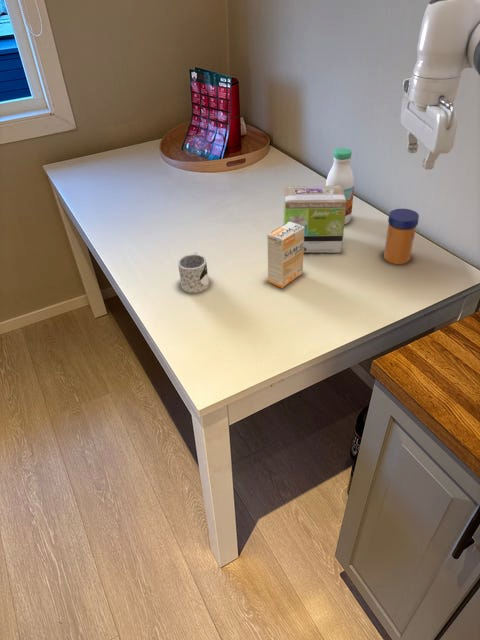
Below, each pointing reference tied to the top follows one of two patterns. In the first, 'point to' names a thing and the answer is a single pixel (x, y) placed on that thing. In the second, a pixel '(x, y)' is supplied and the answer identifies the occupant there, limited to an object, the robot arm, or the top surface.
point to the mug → (193, 273)
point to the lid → (403, 218)
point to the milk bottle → (343, 178)
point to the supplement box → (285, 254)
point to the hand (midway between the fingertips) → (419, 159)
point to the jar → (399, 245)
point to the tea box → (317, 215)
